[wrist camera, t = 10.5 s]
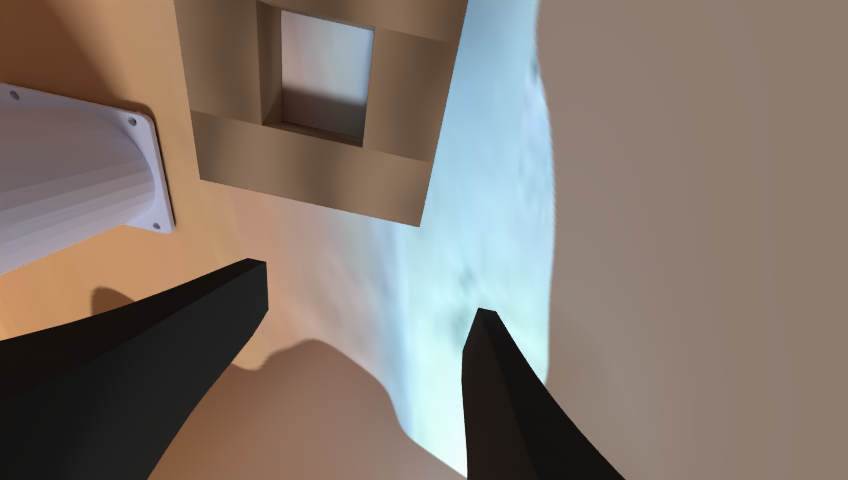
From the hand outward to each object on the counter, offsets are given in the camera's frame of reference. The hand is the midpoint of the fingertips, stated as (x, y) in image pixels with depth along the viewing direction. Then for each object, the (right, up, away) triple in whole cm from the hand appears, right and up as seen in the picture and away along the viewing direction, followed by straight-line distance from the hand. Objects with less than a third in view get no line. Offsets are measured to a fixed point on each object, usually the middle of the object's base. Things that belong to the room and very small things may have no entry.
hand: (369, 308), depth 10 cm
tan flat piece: (-3, +11, +6) cm, 13 cm away
